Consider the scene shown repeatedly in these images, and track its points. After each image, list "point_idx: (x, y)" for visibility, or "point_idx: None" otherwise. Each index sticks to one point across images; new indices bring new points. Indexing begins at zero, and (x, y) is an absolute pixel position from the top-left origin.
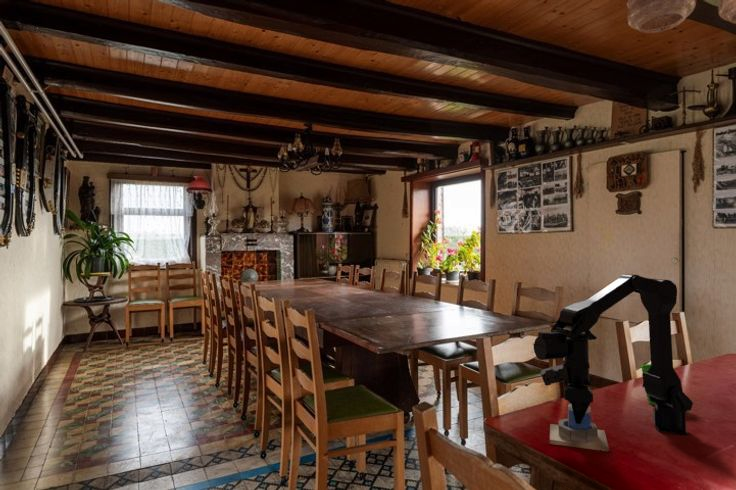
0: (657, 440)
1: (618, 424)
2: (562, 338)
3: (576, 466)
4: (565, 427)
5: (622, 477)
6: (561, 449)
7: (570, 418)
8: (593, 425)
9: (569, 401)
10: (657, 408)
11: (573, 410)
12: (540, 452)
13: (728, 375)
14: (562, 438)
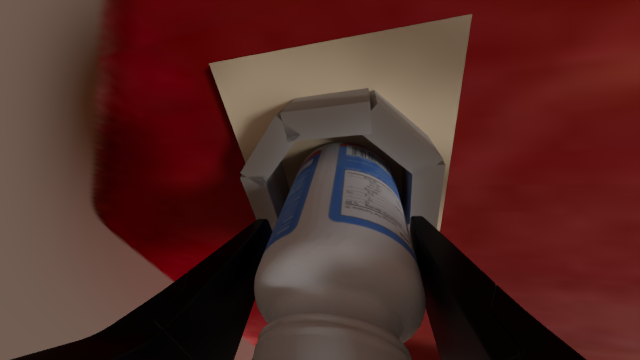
0: (423, 331)
1: (560, 286)
2: None
3: (120, 170)
4: (264, 153)
5: (159, 252)
6: (200, 118)
7: (291, 201)
8: None
9: (42, 357)
10: None
11: (181, 281)
12: (104, 37)
13: None
14: (263, 120)
